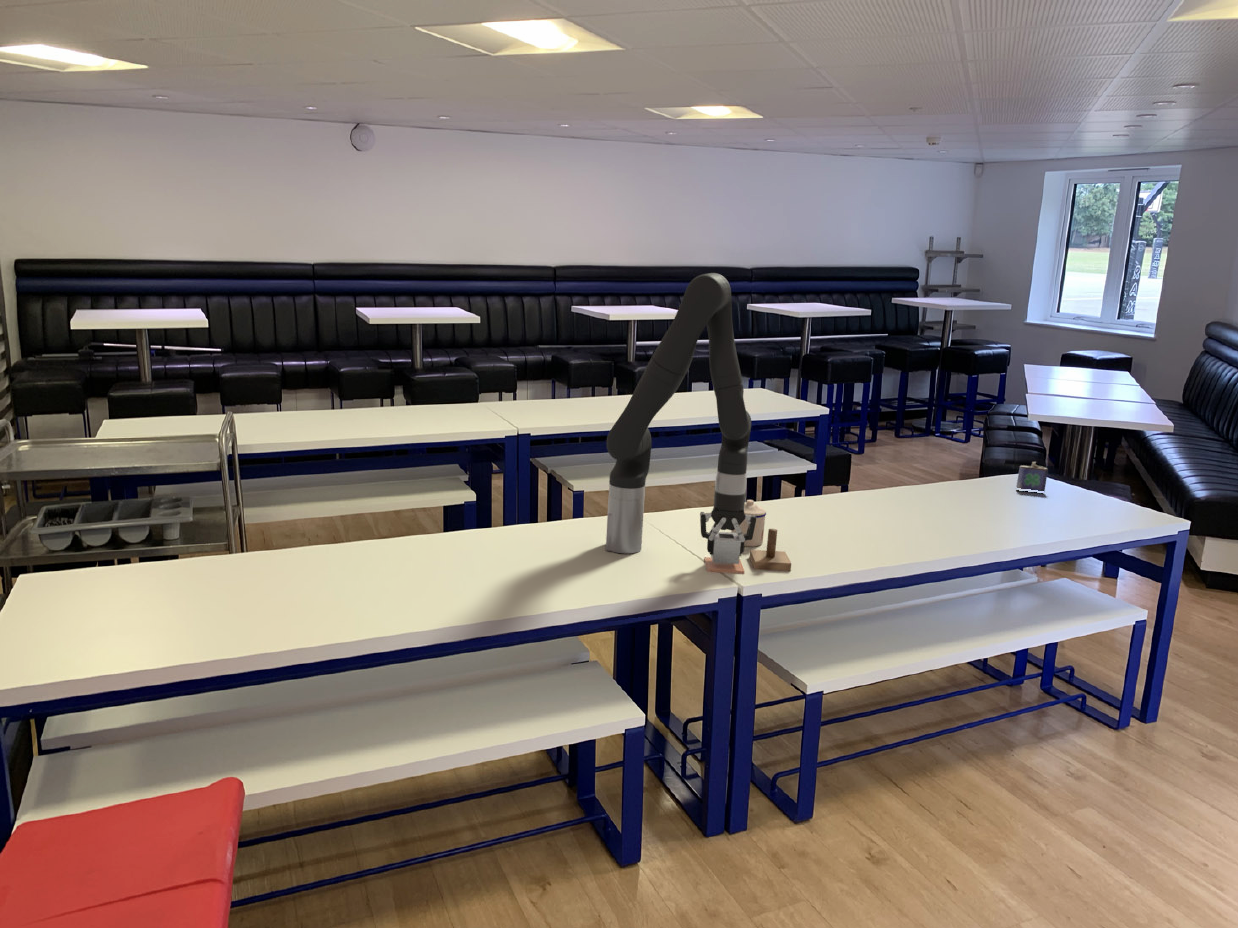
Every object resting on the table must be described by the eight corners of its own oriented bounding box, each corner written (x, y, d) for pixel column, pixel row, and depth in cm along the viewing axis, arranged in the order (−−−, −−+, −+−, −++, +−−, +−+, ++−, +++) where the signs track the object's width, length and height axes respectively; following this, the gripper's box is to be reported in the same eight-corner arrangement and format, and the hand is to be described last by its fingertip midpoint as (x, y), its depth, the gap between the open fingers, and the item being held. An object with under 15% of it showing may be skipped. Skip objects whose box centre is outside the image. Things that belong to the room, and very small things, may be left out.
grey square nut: (712, 562, 227) (714, 539, 226) (710, 554, 233) (712, 531, 232) (738, 564, 227) (740, 540, 226) (735, 555, 233) (737, 532, 232)
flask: (1016, 491, 322) (1020, 461, 320) (1015, 489, 325) (1019, 459, 323) (1044, 494, 320) (1049, 464, 318) (1043, 492, 323) (1048, 462, 320)
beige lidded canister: (769, 546, 248) (773, 504, 245) (737, 548, 245) (741, 505, 243) (750, 532, 259) (754, 492, 256) (720, 534, 257) (723, 493, 254)
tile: (707, 571, 226) (707, 569, 226) (704, 559, 235) (704, 557, 235) (744, 573, 226) (744, 571, 226) (739, 561, 235) (739, 558, 235)
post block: (754, 569, 230) (757, 534, 228) (749, 557, 239) (752, 523, 237) (790, 570, 230) (794, 536, 228) (784, 558, 239) (787, 525, 237)
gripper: (702, 492, 222) (697, 558, 226) (761, 495, 223) (755, 561, 226) (699, 484, 230) (694, 548, 234) (757, 487, 230) (751, 551, 234)
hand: (724, 554), depth 230 cm, fingers closed on grey square nut, 6 cm apart
